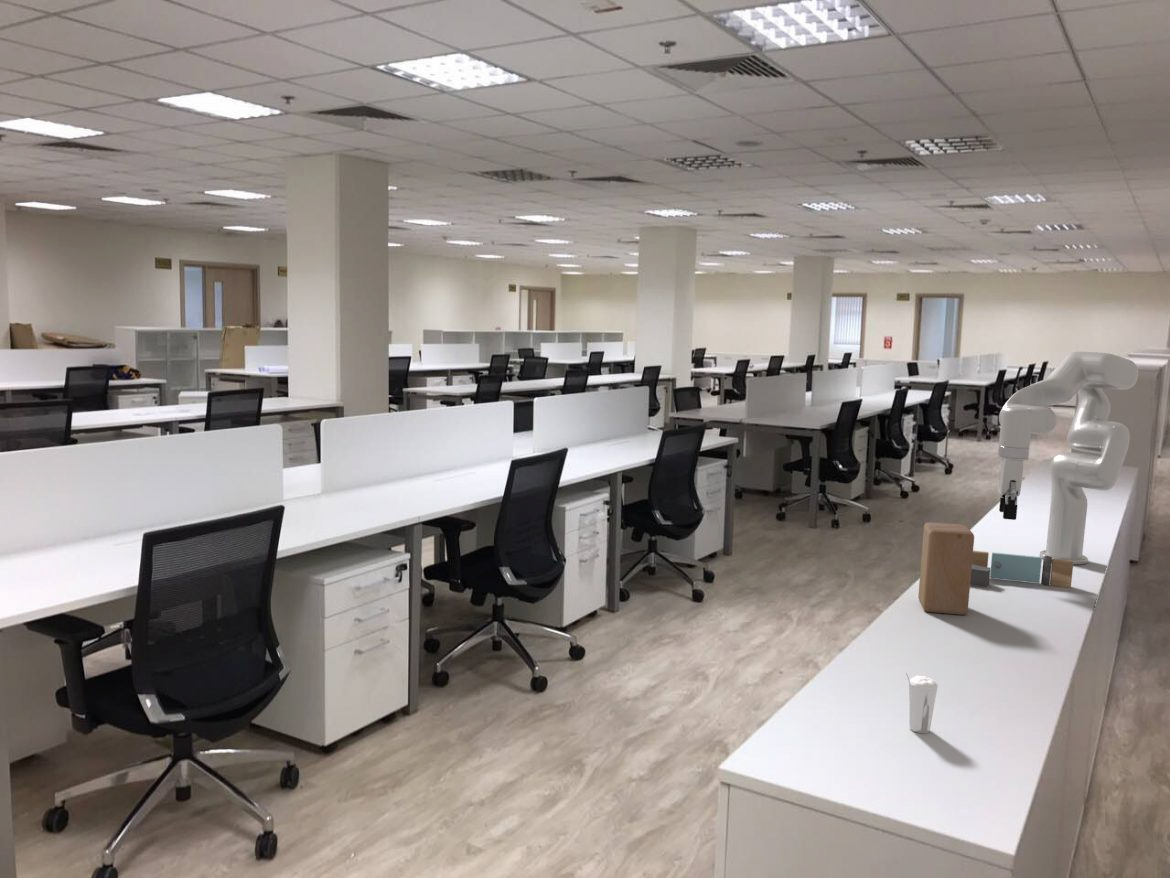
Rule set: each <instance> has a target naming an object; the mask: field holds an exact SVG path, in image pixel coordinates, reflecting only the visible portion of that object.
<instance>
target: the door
mask: <svg viewBox="0 0 1170 878" xmlns="http://www.w3.org/2000/svg"><path fill="white" fill-rule="evenodd" d="M1042 563H1043V558H1041V557H1040V556H1033V555H1023V554H1015V553H1002V552H993V551H992V553H991V561H990V579H998V580H1006V581H1008V580H1009V581H1016V582H1026V583H1035V584H1040V583H1041V573H1042V571H1041V569H1042Z"/></svg>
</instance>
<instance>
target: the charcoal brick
mask: <svg viewBox="0 0 1170 878" xmlns="http://www.w3.org/2000/svg"><path fill="white" fill-rule="evenodd" d="M990 571H991V567H988V566H987V567H981V566H974V565H972V569H971V580H970V586H974V587H980V588H981V587H982V588H986V589H988V588H989V586H990V585H989V584H990V579H991V578H990Z"/></svg>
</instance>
